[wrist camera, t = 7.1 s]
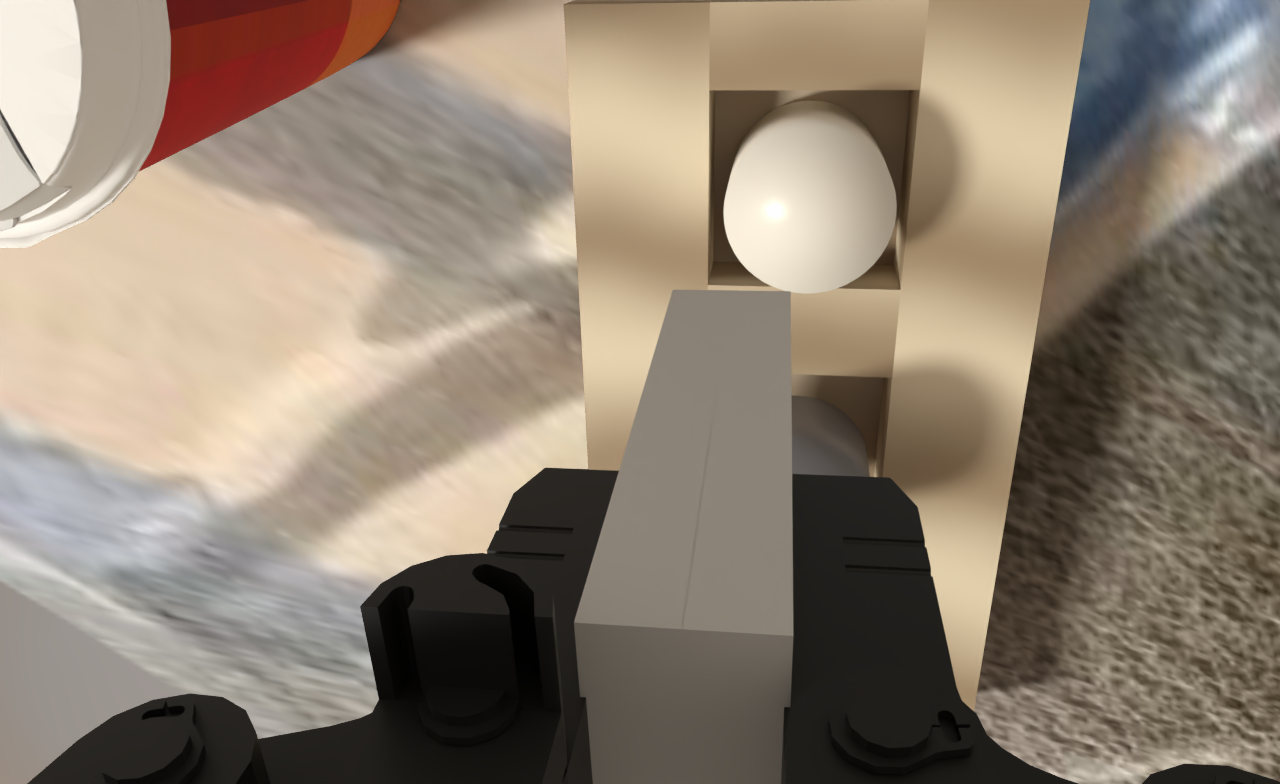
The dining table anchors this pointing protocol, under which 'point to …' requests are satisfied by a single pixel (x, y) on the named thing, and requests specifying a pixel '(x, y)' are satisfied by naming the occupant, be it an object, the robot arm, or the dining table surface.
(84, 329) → the dining table surface
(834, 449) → the gray button
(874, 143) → the white rounded cylinder
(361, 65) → the dining table surface
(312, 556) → the dining table surface
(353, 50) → the coffee cup
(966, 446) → the wooden button tray
